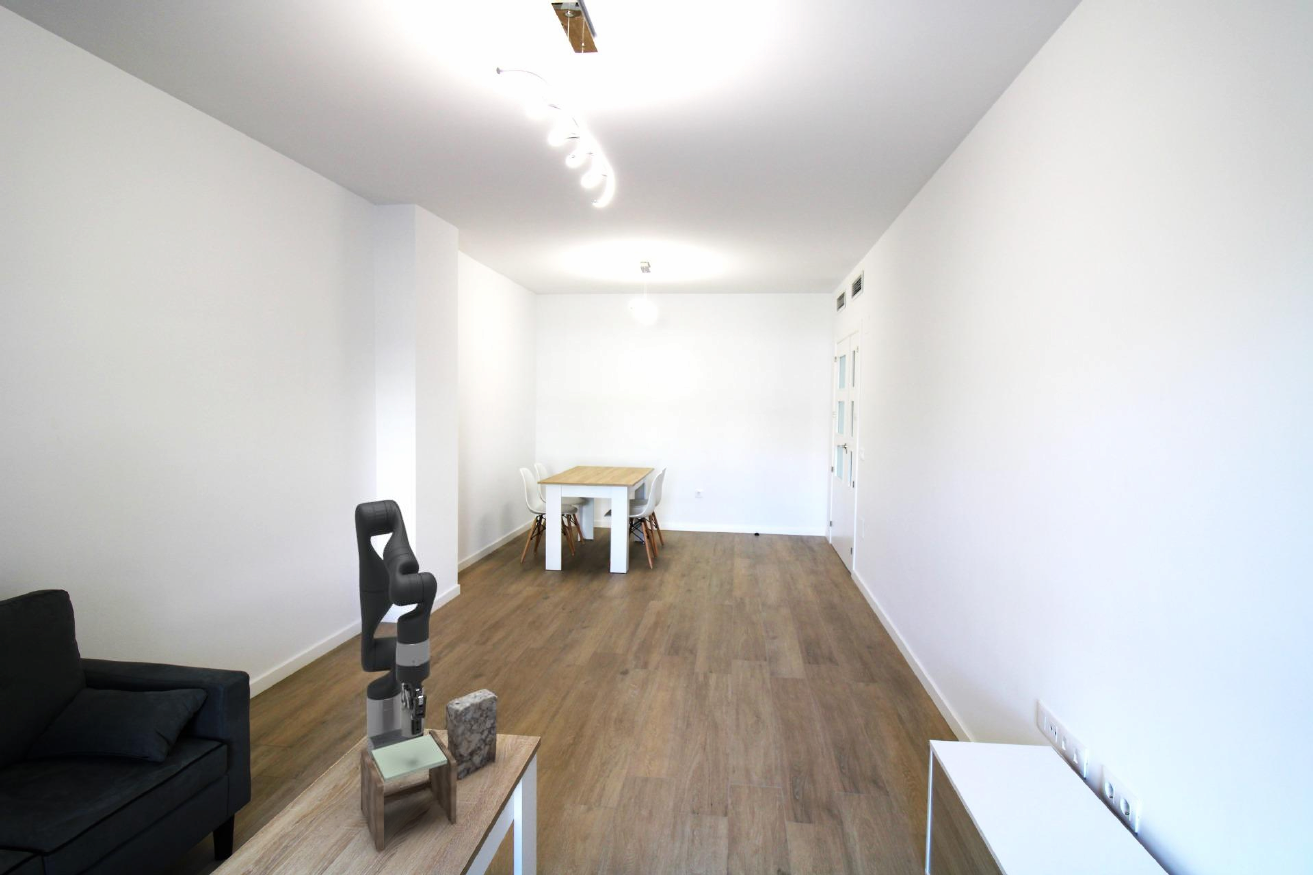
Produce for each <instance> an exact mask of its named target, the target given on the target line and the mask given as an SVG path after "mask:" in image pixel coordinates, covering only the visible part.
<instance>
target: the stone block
mask: <svg viewBox="0 0 1313 875" xmlns="http://www.w3.org/2000/svg"><path fill="white" fill-rule="evenodd" d="M498 701H499V696H497V695H495V693H493V692H492V691H490V690H488V689H487V688H483V689H480V690H477V691H473V692H471V693H469V694H465V695H463V696H461V697H457V698H455V699H452V700H450V701H449V702H448V703H447V704H446V705H445V721H446V735H447V747H446V748H447V749H448V750H449V752H450V753H451V755H452V756H453V757H454V759H455V760H456V762H457V780H462V779H464V778H466V777H468V776H470V775H472V774H474V773H476V772H478V771H479V770H482V769H483V768H485V767H487V766H488V765H490V764H493V763H495V762H496V756H497V736H498V735H497V734H498V733H497V731H498V730H497V729H498V728H497V727H498V726H497V723H498V716H497V715H498Z"/></svg>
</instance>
